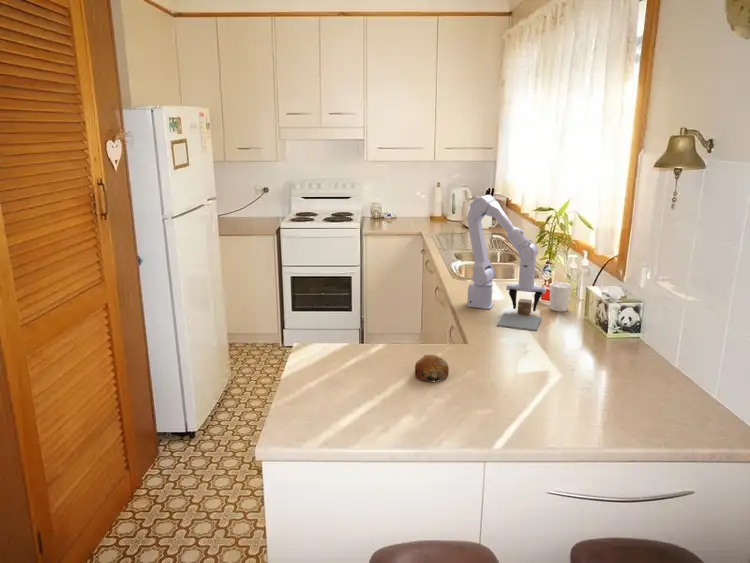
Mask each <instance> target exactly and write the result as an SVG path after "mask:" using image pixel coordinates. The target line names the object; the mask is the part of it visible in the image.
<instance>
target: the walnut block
mask: <svg viewBox="0 0 750 563" xmlns="http://www.w3.org/2000/svg"><path fill="white" fill-rule="evenodd" d="M532 302H533V301H532V299H528V298H527V299H526V298H519V300H518V303H517V314H516V315H524V316H531V313H532Z"/></svg>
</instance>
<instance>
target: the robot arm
mask: <svg viewBox="0 0 750 563" xmlns="http://www.w3.org/2000/svg"><path fill="white" fill-rule="evenodd" d="M485 216H487V217H493V218H494V219H495V220H496V222H497V223H498V224H499V225H500V226H501V227H502V228H503V229H504V231H506V233H507V234H506V238H507V239H508V240H509V242H510V243H511V244H512V246H513V247H514V248H515V250H516V251H517V252H518V253H517V255H518V257H519V259H520V260H519V261H520V262H519V271H518V272H519V273H518V284H515V283H514V284H509V283H507V284H506V287H505V288H506V290H505V291H508V295H509V297H510V299H511V301H512V308H513V310H516V308H517V294H518V292H527V293H534V295H533V297H534V298H533V299H534V300H533V308H532V312H536V311H537V310H536V309H537V307H538V306H537V305H538V302H539V300H540V299H541V297H542V295H545V294H546V292H547V288H546V287H542V286H541V287H540V286H536V285H535V275H536V257H537V255H538V253H539V249H538V246H537V245H536V243H533V242H532V241H531V240H529V238H528V237H527V236H526V234H525V231H524V229H521V228H520V227H515V226H514V224H513V222H512V221H511V220H510V218H509V217H508V216H507V214H506V212H505V211H504V210H503V209H502V207H501V205H500V203H499V202H498V201H497V200H496V199H495V197H494V196H492V195H491V194H485V195H482V196H477V197H476V198H474V199H473V200H472V201H471V202H470V204H469V210H468V213H467V216H466V222H467V228H468V233H469V238H470V244H471V250H472V255H473V261H474V263H473V265H472V266H473V267H472V275H471V276H472V277H471V278H472V282H473V283H472V282H471V283H470V282H469V284H468V289H467V301H466V302H467V303H466V304H467V305H466V307H468V308H469V307H471V308H477V309H486V310H491V309H492V307H493V306H494V305H495V302H493V301H492V300H493V280H494V278H495V277H496V271H495V269H494V268H493V266H492V262H491V261H490V260H489V258H488V251H487V246H486V241H485V235H484V230H483V229H484V228H483V225H482V220H483V219H484V217H485Z"/></svg>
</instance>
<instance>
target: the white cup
mask: <svg viewBox="0 0 750 563" xmlns="http://www.w3.org/2000/svg"><path fill="white" fill-rule="evenodd" d="M549 287H550V288H549V309H550V310H551V311H555V312H566V311H568V309H569V304H570V298H571V291H572V284H570V283H568V282H561V281H560V282H559V281H556V282H555V281H554V282H550V285H549Z"/></svg>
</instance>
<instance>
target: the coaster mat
mask: <svg viewBox="0 0 750 563" xmlns="http://www.w3.org/2000/svg"><path fill="white" fill-rule="evenodd" d="M541 321H542V317H541V316H531V315H521V314H515V313H507V312H504V313H503V314H502V316H501V317H500V319H499V320H498V322H497V324H496V327H501V328H510V329H516V330H523V331H524V330H526V331H533V332H537V331H538V329H539V326H540V324H541Z"/></svg>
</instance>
